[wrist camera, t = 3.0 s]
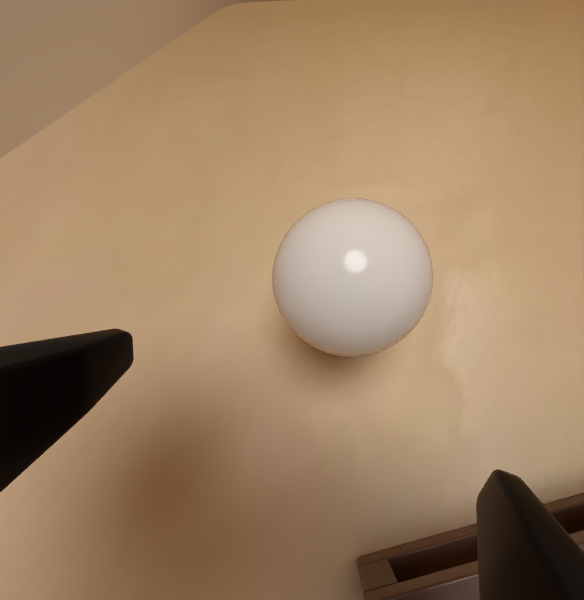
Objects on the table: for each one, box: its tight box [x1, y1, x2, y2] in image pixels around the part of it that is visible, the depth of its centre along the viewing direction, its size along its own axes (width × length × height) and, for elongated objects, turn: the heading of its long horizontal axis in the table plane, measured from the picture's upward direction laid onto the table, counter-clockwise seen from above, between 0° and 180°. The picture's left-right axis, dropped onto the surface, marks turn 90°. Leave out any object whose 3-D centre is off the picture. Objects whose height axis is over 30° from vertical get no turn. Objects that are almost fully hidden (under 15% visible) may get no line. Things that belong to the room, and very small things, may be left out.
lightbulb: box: [272, 198, 433, 357], centre depth 15 cm, size 6×6×11 cm
